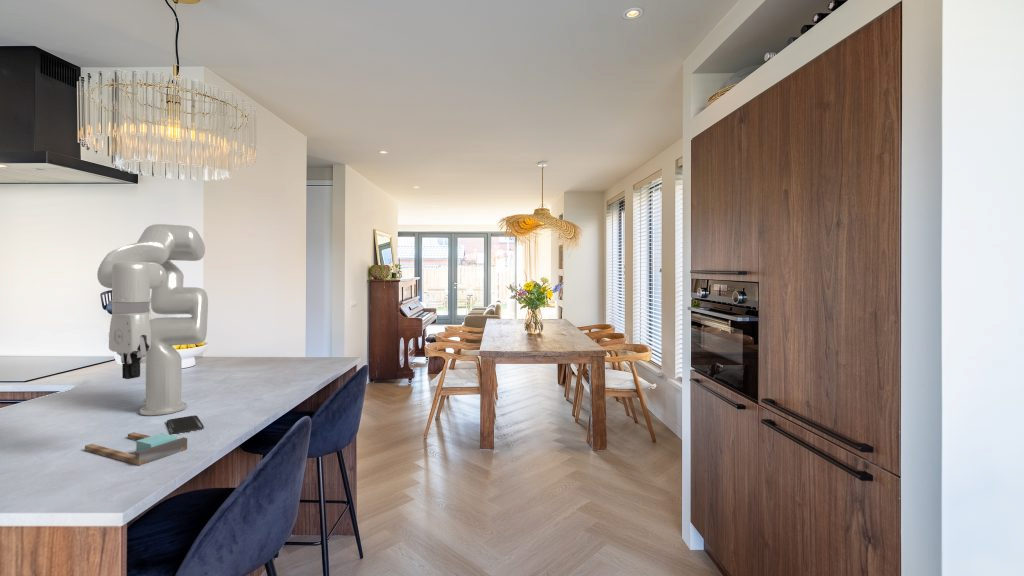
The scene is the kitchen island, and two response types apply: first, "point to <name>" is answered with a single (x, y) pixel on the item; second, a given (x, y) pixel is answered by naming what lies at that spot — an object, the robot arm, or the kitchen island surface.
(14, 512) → the kitchen island surface
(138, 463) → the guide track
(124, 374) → the robot arm
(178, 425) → the phone
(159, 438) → the block
